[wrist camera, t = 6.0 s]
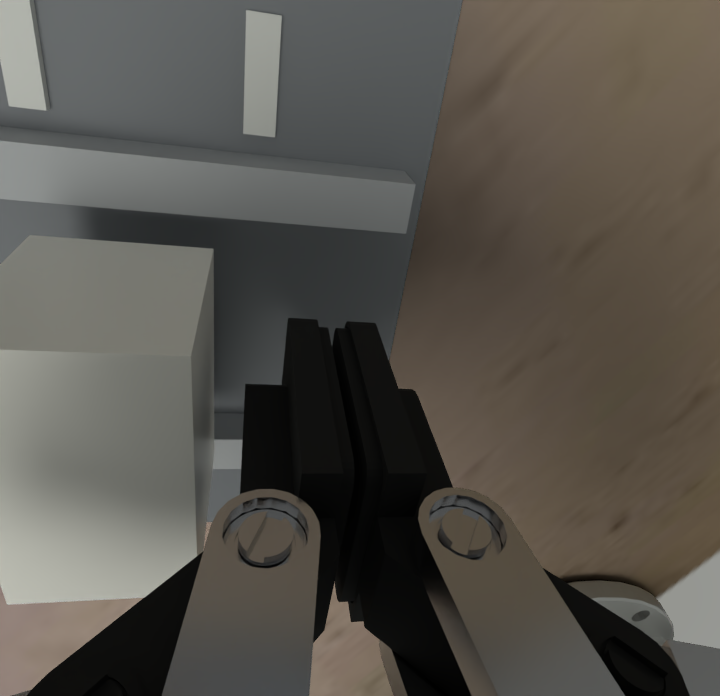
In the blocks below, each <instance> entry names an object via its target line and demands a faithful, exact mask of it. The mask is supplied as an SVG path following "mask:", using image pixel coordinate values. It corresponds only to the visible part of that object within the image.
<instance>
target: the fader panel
mask: <svg viewBox="0 0 720 696" xmlns="http://www.w3.org/2000/svg"><path fill="white" fill-rule="evenodd" d="M462 1H463V0H0V264H1V263H2V262H3V261H4V260H5V259H6V258H7V257H8V256H9V255H10V254H11V253H12V252H13V251H14V250H15V249H16V248H17V247H18V246H19V245H20V244H21V243H22V242H23V241H24V240H25V239H26V238H27V237H28V236H29V235H36V236H50V237H63V238H77V239H90V240H104V241H117V242H130V243H144V244H157V245H171V246H184V247H198V248H211V249H214V461H213V469H212V478H211V487H210V496H209V505H208V513H207V522H213V520H214V518H215V516H216V514H217V512H218V511H219V510H220V509H221V508H222V507H223V506H224V505H225V504H226V503H227V502H228V501H229V500H231V499H233V498H234V497H236V496H238V495H240V482H241V461H242V440H243V419H244V399H245V384H268V385H282V375H283V364H284V353H285V343H286V332H287V323H288V318H302V319H317V320H318V325H319V327H327V328H328V329H329V334H330V339H331V345H332V344H333V337H334V331H335V329H336V328H344V327H345V324H346V322H347V321H353V322H370V323H376V325H377V328H378V331H379V334H380V337H381V340H382V343H383V345H384V348H385V351H386V354H387V357H388V360H389V358H390V354H391V349H392V344H393V339H394V334H395V329H396V324H397V319H398V314H399V309H400V305H401V300H402V295H403V290H404V285H405V280H406V275H407V270H408V265H409V261H410V256H411V251H412V246H413V241H414V236H415V231H416V226H417V221H418V216H419V212H420V207H421V202H422V197H423V192H424V187H425V182H426V177H427V172H428V168H429V163H430V158H431V153H432V148H433V143H434V138H435V133H436V128H437V123H438V119H439V114H440V109H441V104H442V99H443V94H444V89H445V84H446V79H447V74H448V70H449V65H450V60H451V55H452V50H453V45H454V40H455V35H456V30H457V26H458V21H459V16H460V11H461V6H462Z"/></svg>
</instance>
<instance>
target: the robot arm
mask: <svg viewBox="0 0 720 696" xmlns="http://www.w3.org/2000/svg"><path fill="white" fill-rule="evenodd" d="M334 581H335V587H336V594H337V599H338V601H339V602H348V604H349V611H350V618H351V622H357V621H364V626H365V628H366V629H367V630H368V631H370V632H371V633H372V634H373V635H375V636H376V637H377V638H378V639H380V641H379V647H380V653H381V658H382V661H383V664H384V667H385V671H386V674H387V677H388V680H389V683H390V686H391V689H392V692H393V695H394V696H720V649H717V648H712V647H706V646H701V645H695V644H690V643H684V642H678V641H673V637H674V632H673V624H672V622H671V620H670V619H669V617H668V615H667V614H666V612H665V610H664V609H663V607H662V606H661V604H660V603H659V602H658V600H657V599H656V598H655V597H654V596H653V595H652V594H651V593H649V592H647V591H645V590H643V589H642V588H640V587H636V586H633V585H629V584H625V583H622V582H614V581H602V580H596V581H577V582H571V583H566V582H564V581H563V580H561V579H559V578H558V577H556V576H555V575H553V574H552V573H550V572H548V571H547V570H545V569H544V568H542V566H541V565H540V563H539V562H538V560H537V559H536V557H535V556H534V554H533V553H532V551H531V549H530V548H529V546H528V545H527V543H526V542H525V540H524V539H523V537H522V535H521V534H520V532H519V531H518V529H517V528H516V526H515V525H514V523H513V522H512V520H511V518H510V517H509V516H508V515H507V514H506V513H505V511H504V510H503V509H502V508H501V507H500V506H499V505H498V504H496V503H495V502H494V501H492V500H491V499H490V498H488V497H486V496H484V495H482V494H480V493H478V492H476V491H472V490H468V489H464V488H453V486H452V484H451V481H450V479H449V476H448V473H447V471H446V468H445V466H444V463H443V460H442V458H441V455H440V453H439V450H438V447H437V445H436V442H435V440H434V437H433V435H432V432H431V429H430V427H429V424H428V422H427V419H426V416H425V414H424V411H423V409H422V406H421V403H420V401H419V398H418V396H417V394H416V392H415V391H414V390H412V389H398V386H397V383H396V380H395V377H394V375H393V372H392V369H391V366H390V363H389V360H388V357H387V354H386V351H385V348H384V345H383V343H382V340H381V337H380V334H379V331H378V328H377V325H376V323H370V322H353V321H347V322H346V324H345V327H344V328H336V329H335V331H334V337H333V344H332V345H331V339H330V334H329V329H328V328H327V327H319V325H318V320H317V319H302V318H288V323H287V332H286V343H285V353H284V364H283V375H282V385H268V384H245V399H244V419H243V440H242V461H241V482H240V495H238V496H236V497H234V498H233V499H231V500H229V501H228V502H227V503H226V504H225V505H224V506H223V507H222V508H221V509H220V510H219V511H218V512H217V514H216V516H215V518H214V520H213V522H212V524H211V527H210V530H209V534H208V537H207V541H206V544H205V548H204V551H203V552H202V553H200V554H199V555H198V556H197V557H195V558H194V559H193V560H192V561H190V562H189V563H188V564H186V565H185V566H184V567H183V568H181V569H180V570H179V571H178V572H176V573H175V574H174V575H172V576H171V577H170V578H169V579H167V580H166V581H165V582H164V583H162V584H161V585H160V586H158V587H157V588H156V589H155V590H153V591H152V592H151V593H150V594H148V595H147V596H146V597H145V598H143V599H142V600H141V601H139V602H138V603H137V604H136V605H134V606H133V607H132V608H131V609H129V610H128V611H127V612H125V613H124V614H123V615H122V616H120V617H119V618H118V619H117V620H115V621H114V622H113V623H112V624H110V625H109V626H108V627H106V628H105V629H104V630H103V631H101V632H100V633H99V634H98V635H96V636H95V637H94V638H92V639H91V640H90V641H89V642H87V643H86V644H85V645H84V646H82V647H81V648H80V649H79V650H77V651H76V652H75V653H73V654H72V655H71V656H70V657H68V658H67V659H66V660H65V661H63V662H62V663H61V664H59V665H58V666H57V667H56V668H54V669H53V670H52V671H51V672H49V673H48V674H47V675H46V676H45V677H44V678H43V679H42V680H41V681H40V682H39V683H38V684H37V685H36V686H35V687H34V688H33V689H32V690H29V691H26V692H22V693H19V694H15V695H12V696H309V691H310V677H311V663H312V649H313V643H314V641H315V640H316V639H317V638H318V637H319V636H320V634H321V633H322V632H323V631H324V629H325V624H326V619H327V614H328V610H329V605H330V600H331V595H332V591H333V586H334Z"/></svg>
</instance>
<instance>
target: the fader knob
mask: <svg viewBox="0 0 720 696" xmlns="http://www.w3.org/2000/svg"><path fill="white" fill-rule="evenodd" d="M213 461H214V249H211V248H198V247H184V246H171V245H157V244H144V243H130V242H117V241H104V240H90V239H77V238H63V237H50V236H36V235H29V236H28V237H27V238H26V239H25V240H24V241H23V242H22V243H21V244H20V245H19V246H18V247H17V248H16V249H15V250H14V251H13V252H12V253H11V254H10V255H9V256H8V257H7V258H6V259H5V260H4V261H3V262H2V263H1V264H0V585H1V588H2V591H3V594H4V597H5V600H6V603H7V605H8V604H28V603H48V602H68V601H87V600H107V599H127V598H145V597H146V596H147V595H148V594H150V593H151V592H152V591H153V590H155V589H156V588H157V587H158V586H160V585H161V584H162V583H164V582H165V581H166V580H167V579H169V578H170V577H171V576H172V575H174V574H175V573H176V572H178V571H179V570H180V569H181V568H183V567H184V566H185V565H186V564H188V563H189V562H190V561H192V560H193V559H194V558H195V557H197V556H198V555H199V554H200V553H202V552H203V549H204V540H205V531H206V522H207V513H208V505H209V496H210V487H211V478H212V469H213Z"/></svg>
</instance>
